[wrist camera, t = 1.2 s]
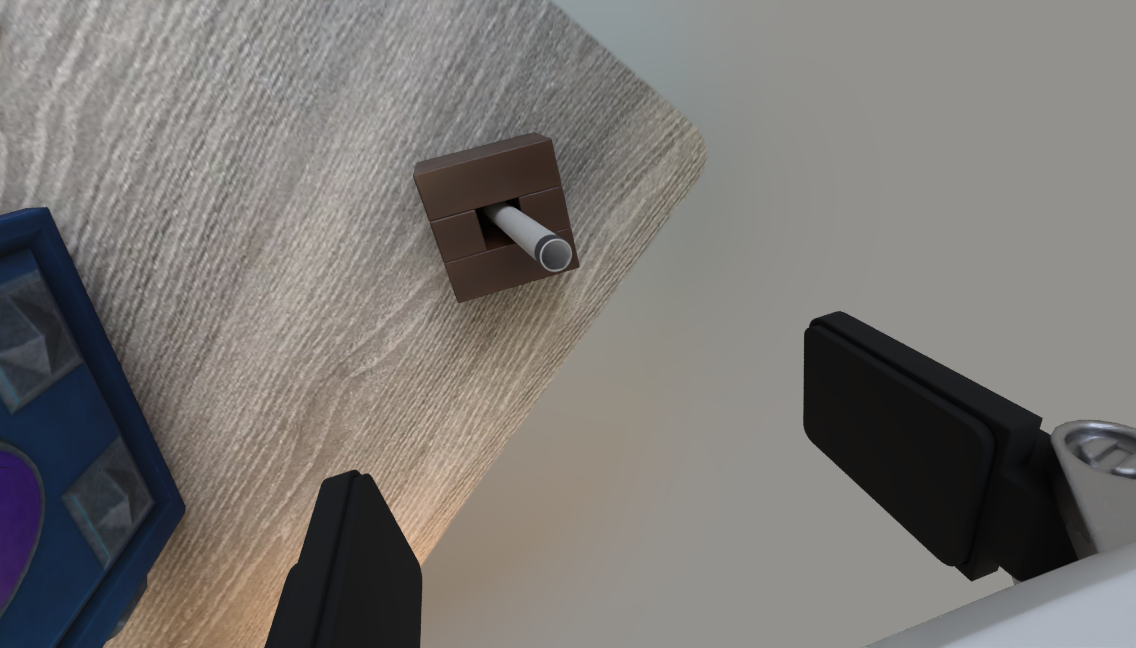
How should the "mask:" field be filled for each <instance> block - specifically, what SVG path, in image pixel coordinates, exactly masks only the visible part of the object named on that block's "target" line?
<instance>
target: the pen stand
mask: <svg viewBox="0 0 1136 648" xmlns="http://www.w3.org/2000/svg"><path fill="white" fill-rule="evenodd" d="M413 177H414V180H415V183H416V186H417V189H418V191H419V194H420V197H421V200H422V203H423V205H424V208H425V211H426V214H427V217H428V220H429V221H430V225H431V228H432V231H433V234H434V236H435V239H436V242H437V245H438V248H439V250H440V253H441V256H442V259H443V262H444V265H445V268H446V270H447V273H448V276H449V279H450V282H451V284H452V287H453V290H454V293H455V296H456V298H457V301H458V303H461V302H464V301H467V300H471V299H474V298H478V297H481V296H484V295H488V294H491V293H495V292H498V291H501V290H505V289H508V288H511V287H515V286H518V285H522V284H525V283H528V282H532V281H535V280H539V279H542V278H545V277H549V276H552V275H556V274H559V273H562V272H566V271H569V270H572V269H576V268H579V267H580V266H579V262H578V257H577V252H576V248H575V243H574V239H573V234H572V230H571V227H570V226H571V225H570V221H569V216H568V212H567V207H566V202H565V198H564V193H563V189H562V186H561V180H560V175H559V171H558V166H557V161H556V157H555V152H554V148H553V143H552V139H551V138H548V137H546V136H543V135H541V134H538V133H535V132H533V133H529V134H525V135H522V136H518V137H514V138H510V139H506V140H502V141H498V142H495V143H491V144H487V145H483V146H479V147H475V148H471V149H468V150H464V151H460V152H456V153H452V154H448V155H444V156H441V157H437V158H433V159H429V160H425V161H421V162H418V163H417V164H416V167H415V170H414V173H413ZM510 199H511V200H512V204H513V207H514V208H516V209H517V210H519V211H520V212H522V213H523V214H525V215H527V216H528V217H530V218H531V219H533V220H534V221H536V222H537V223H539V224H540V225H542V226H543V227H545V228H546V229H548V230H549V231H551V232H553V233H554V234H556V235H557V236H560V237H561V238H563V239H564V240H566V241H567V242H568V243H569V245H570V246H571V249H572V258H571V261H570V263H569V265H568V266H567V267H566V268H565V269H563V270H561V271H558V272H550V271H547V270H545V269H544V268H543V267H542V266H541V265H540V264H539V263H538V262H537V261H536V260H535V259H534V258H533V257H532V256H530V255H529V254H528V253H527V252H526V251H525V250H524V249H523V248H522V247H521V246H519V245H518V244H517V243H516V242H515V241H514V240H513V239H512V238H511V237H509V236H508V235H507V234H506V233H505V232H504V231H503V230H502V229H501V228H500V227H498V226H497V225H496V226H493V227H489V228H485V229H482V230H481V227H480V224H479V221H478V217H477V214H476V211H475V209H477V208H481V207H484V206H488V205H492V204H495V203H499V202H503V201H506V200H510Z"/></svg>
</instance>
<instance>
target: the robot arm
mask: <svg viewBox="0 0 1136 648" xmlns="http://www.w3.org/2000/svg"><path fill="white" fill-rule="evenodd" d="M803 413H804V414H803V425H804V430H805V432H806V435H807V436H808V438H809V439H810V440H811V441H812V443H813V444H815V445H816V446H817V447H818V448H819V449H820V450H821V451H822V452H823V453H824V454H825V455H826V456H828V457H829V458H830V459H831V460H832V461H833V462H834V463H835V464H836V465H837V466H838V467H839V468H841V469H842V470H843V471H844V472H845V473H846V474H847V475H848V476H849V477H850V478H851V479H852V480H853V481H854V482H856V483H857V484H858V485H859V486H860V487H861V488H862V489H863V490H864V491H865V492H866V493H868V495H870V496H871V497H872V498H873V499H874V500H875V501H876V502H877V503H878V504H879V505H880V506H881V507H883V508H884V509H885V510H886V511H887V512H888V513H889V514H890V515H891V516H892V517H893V518H894V519H895V520H896V521H898V522H899V523H900V524H901V525H902V526H903V527H904V528H905V529H906V530H907V531H908V532H909V533H911V534H912V535H913V536H914V537H915V538H916V539H917V540H918V541H919V542H920V543H921V544H922V545H923V546H925V547H926V548H927V549H928V550H929V551H930V552H931V553H932V554H933V555H934V556H935V557H936V558H937V559H939V560H940V561H941V562H942V563H944V564H946V565H948V566H955V567H956V568H957V569H958V570H959V571H960V572H961V573H962V574H964V575H965V576H966V577H967V578H968V579H969V580H970V581H974V580H976V579H979V578H981V577H983V576H986V575H989V574H991V573H993V572H996V571H997V570H998V568H999V566H1000V567H1002V568H1003V569H1004V570H1005V571H1006V572H1008V573H1009V574H1010V575H1011V576H1012V579H1013V582H1014V586H1011V587H1009V588H1006V589H1004V590H1001V591H999V592H996V593H994V594H991V595H989V596H987V597H984V598H982V599H979V600H977V601H974V602H972V603H970V604H967V605H965V606H962V607H960V608H957V609H955V610H953V611H950V612H948V613H945V614H943V615H940V616H938V617H936V618H933V619H931V620H928V621H926V622H923V623H921V624H919V625H916V626H914V627H911V628H909V629H906V630H904V631H901V632H899V633H897V634H894V635H892V636H889V637H887V638H884V639H882V640H880V641H877V642H875V643H872V644H870V645H867V646H865V647H863V648H1136V428H1133V427H1129V426H1126V425H1122V424H1119V423H1112V422H1106V421H1100V420H1077V421H1071V422H1066V423H1064V424H1061V425H1059V426H1058V427H1056V428H1055V429H1054V431H1053V433H1052V434H1051V435H1049V434H1048V433H1046V432H1044V431H1042V430H1040V426H1041V422H1042V418H1041V417H1039V416H1038V415H1036V414H1034V413H1032V412H1030V411H1028V410H1026V409H1024V408H1022V407H1021V406H1019V405H1017V404H1015V403H1013V402H1011V401H1009V400H1007V399H1006V398H1004V397H1002V396H1000V395H998V394H996V393H994V392H992V391H991V390H989V389H987V388H985V387H983V386H981V385H979V384H978V383H976V382H974V381H972V380H970V379H968V378H966V377H964V376H963V375H961V374H959V373H957V372H955V371H953V370H951V369H949V368H948V367H946V366H944V365H942V364H940V363H938V362H936V361H934V360H933V359H931V358H929V357H927V356H925V355H923V354H921V353H919V352H917V351H916V350H914V349H912V348H910V347H908V346H906V345H905V344H903V343H901V342H899V341H897V340H895V339H893V338H891V337H890V336H888V335H886V334H884V333H882V332H880V331H878V330H876V329H875V328H873V327H871V326H869V325H867V324H865V323H863V322H861V321H860V320H858V319H856V318H854V317H852V316H850V315H848V314H846V313H844V312H841V311H838V312H834V313H831V314H828V315H824V316H821V317H818V318H815V319H814V320H812V321H811V323H810V325H809V328H807V329H806V330H805V333H804V412H803ZM421 606H422V573H421V568H420V565H419V562H418V560H417V558H416V557H415V555H414V553H413V551H412V549H411V547H410V546H409V544H408V542H407V540H406V538H405V536H404V535H403V533H402V531H401V529H400V527H399V525H398V524H397V522H396V520H395V518H394V516H393V515H392V513H391V511H390V509H389V507H388V505H387V504H386V502H385V500H384V498H383V496H382V494H381V493H380V491H379V489H378V487H377V485H376V483H375V482H374V480H373V478H372V477H371V475H370V474H364V475H361V474H360V472H358V471H357V470H351V471H348V472H345V473H342V474H339V475H336V476H333V477H330V478H327V479H325V480H324V481H323V482H322V484H321V487H320V491H319V494H318V497H317V501H316V504H315V507H314V511H313V514H312V517H311V520H310V524H309V527H308V530H307V534H306V537H305V540H304V544H303V547H302V550H301V554H300V557H299V560H298V563H297V564H295V565H294V566H293V567H292V568H291V569H290V571H289V573H288V576H287V578H286V581H285V584H284V587H283V590H282V594H281V597H280V600H279V603H278V606H277V609H276V613H275V616H274V619H273V622H272V625H271V628H270V632H269V635H268V638H267V641H266V644H265V647H264V648H420V635H421Z"/></svg>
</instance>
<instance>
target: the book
mask: <svg viewBox="0 0 1136 648" xmlns="http://www.w3.org/2000/svg"><path fill="white" fill-rule="evenodd" d="M184 512H185V505H184V503H183V500H182V498H181V496H180V494H179V492H178V490H177V487H176V485H175V483H174V481H173V479H172V477H171V474H170V472H169V470H168V468H167V466H166V464H165V461H164V459H163V457H162V455H161V453H160V451H159V448H158V446H157V444H156V442H155V440H154V438H153V435H152V433H151V431H150V429H149V427H148V425H147V422H146V420H145V418H144V416H143V414H142V412H141V410H140V407H139V405H138V403H137V401H136V399H135V397H134V394H133V392H132V390H131V388H130V386H129V384H128V381H127V379H126V377H125V375H124V373H123V371H122V368H121V366H120V364H119V362H118V360H117V358H116V355H115V353H114V351H113V349H112V347H111V345H110V342H109V340H108V338H107V336H106V334H105V332H104V329H103V327H102V325H101V323H100V321H99V319H98V316H97V314H96V312H95V310H94V308H93V306H92V303H91V301H90V299H89V297H88V295H87V293H86V290H85V288H84V286H83V284H82V282H81V280H80V278H79V275H78V273H77V271H76V269H75V267H74V265H73V262H72V260H71V258H70V256H69V254H68V252H67V249H66V247H65V245H64V243H63V241H62V239H61V236H60V234H59V232H58V230H57V228H56V226H55V223H54V221H53V219H52V217H51V215H50V213H49V210H48V208H47V207H42V208H25V209H22V210H18V211H14V212H11V213H7V214H3V215H0V648H103V646H104V644H105V643H106V641H108V640H110V639H112V638H113V637H115V636H116V635H117V634H118V633H119V632H120V631H121V630H122V629H123V627H124V626H125V624H126V622H127V621H128V619H129V617H130V615H131V614H132V612H133V610H134V609H135V607H136V605H137V604H138V602H139V600H140V599H141V597H142V595H143V594H144V592H145V590H146V588H147V574H148V572H149V571H150V569H151V567H152V566H153V564H154V562H155V561H156V559H157V558H158V556H159V554H160V553H161V551H162V549H163V548H164V546H165V544H166V543H167V541H168V539H169V538H170V536H171V535H172V533H173V531H174V530H175V528H176V526H177V525H178V523H179V521H180V520H181V518H182V516H183V515H184Z"/></svg>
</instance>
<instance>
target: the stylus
mask: <svg viewBox="0 0 1136 648" xmlns="http://www.w3.org/2000/svg"><path fill="white" fill-rule="evenodd" d="M482 208H483V212H484V213H485V215H486V216H487V217H489V218H490V219H491V220H492V221H493V222H494V223H495V224H496V225H497V226H498V227H500V228H501V229H502V230H503V231H504V232H505V233H506V234H507V235H508V236H509V237H511V238H512V239H513V240H514V241H515V242H516V243H517V244H518V245H519V246H521V247H522V248H523V249H524V250H525V251H526V252H527V253H528V254H529V255H530V256H532V257H533V258H534V259H535V260H536V261H537V262H538V263H539V264H540V265H541V266H542V267H543V268H544V269H545V270H547V271H550V272H558V271H561V270H563V269H565V268H566V267H567V266H568V265H569V263H570V261H571V258H572V249H571V246H570V245H569V243H568V242H567V241H566V240H564V239H563V238H561V237H560V236H557V235H556V234H554V233H553V232H551V231H549V230H548V229H546V228H545V227H543V226H542V225H540V224H539V223H537V222H536V221H534V220H533V219H531V218H530V217H528V216H527V215H525V214H523V213H522V212H520V211H519V210H517V209H516V208H514V207H513V206H511V205H510V204H508V203H507V202H505V201H503V202H499V203H495V204H492V205H488V206H484V207H482Z"/></svg>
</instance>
